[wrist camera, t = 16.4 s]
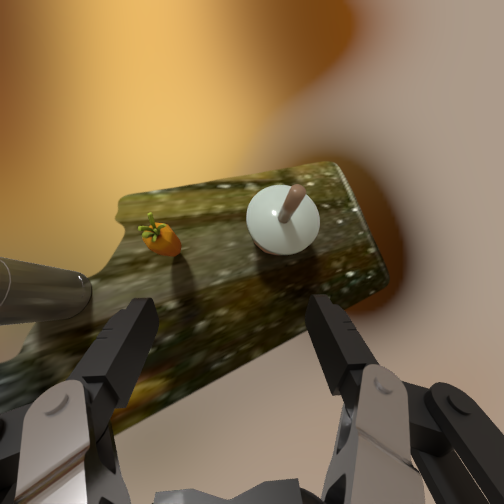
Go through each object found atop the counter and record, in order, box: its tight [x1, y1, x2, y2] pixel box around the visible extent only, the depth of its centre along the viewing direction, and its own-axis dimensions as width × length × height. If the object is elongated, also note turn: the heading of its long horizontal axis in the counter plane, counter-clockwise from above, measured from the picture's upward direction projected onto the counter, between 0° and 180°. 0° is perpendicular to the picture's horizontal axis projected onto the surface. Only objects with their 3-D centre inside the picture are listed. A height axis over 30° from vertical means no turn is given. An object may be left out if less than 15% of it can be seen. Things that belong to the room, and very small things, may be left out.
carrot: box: [138, 213, 181, 257], centre depth 34 cm, size 5×5×15 cm
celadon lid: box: [246, 184, 320, 255], centre depth 33 cm, size 14×14×10 cm
